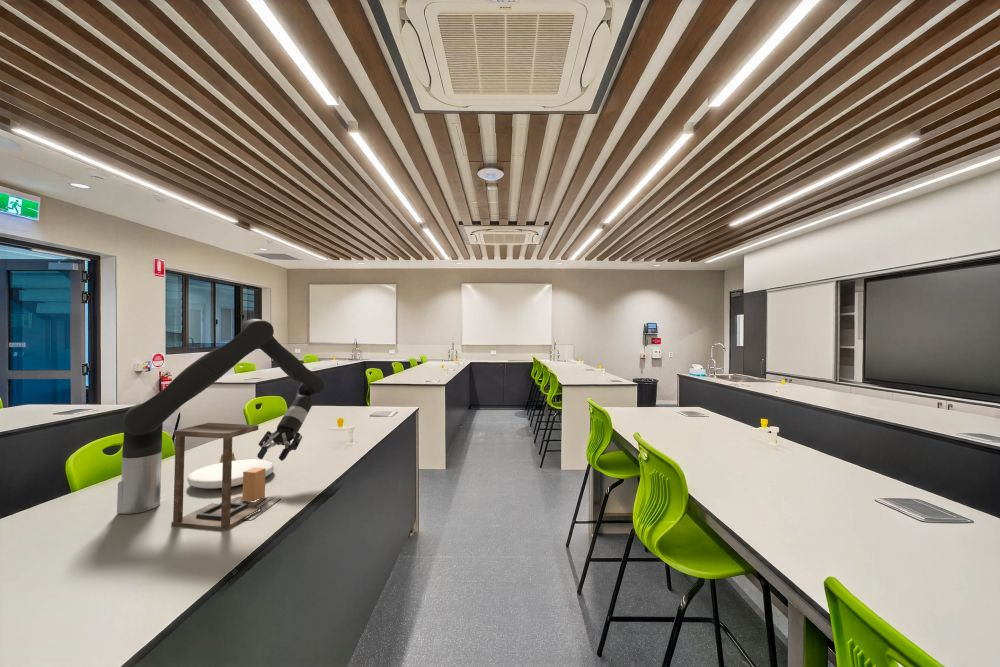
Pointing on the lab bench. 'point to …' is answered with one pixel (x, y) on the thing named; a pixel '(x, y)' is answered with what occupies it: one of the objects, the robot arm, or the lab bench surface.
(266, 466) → the plate
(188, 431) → the walnut shelf
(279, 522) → the lab bench surface
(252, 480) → the terracotta block
